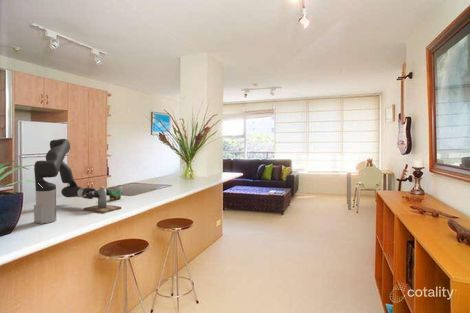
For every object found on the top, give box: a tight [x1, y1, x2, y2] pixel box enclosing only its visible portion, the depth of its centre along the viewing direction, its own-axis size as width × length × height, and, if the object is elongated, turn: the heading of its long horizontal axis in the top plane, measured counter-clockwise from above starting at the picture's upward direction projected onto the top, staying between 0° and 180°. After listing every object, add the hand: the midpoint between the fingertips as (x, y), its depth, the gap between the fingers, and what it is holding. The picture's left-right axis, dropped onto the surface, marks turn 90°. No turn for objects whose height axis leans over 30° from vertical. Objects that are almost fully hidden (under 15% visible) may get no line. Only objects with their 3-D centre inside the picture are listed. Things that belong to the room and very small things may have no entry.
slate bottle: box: [97, 185, 108, 208], centre depth 180 cm, size 5×5×14 cm
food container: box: [107, 184, 123, 202], centre depth 211 cm, size 12×6×10 cm, turn 168°
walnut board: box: [82, 204, 122, 214], centre depth 180 cm, size 14×18×1 cm
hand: (104, 195), depth 179 cm, fingers open, 8 cm apart
